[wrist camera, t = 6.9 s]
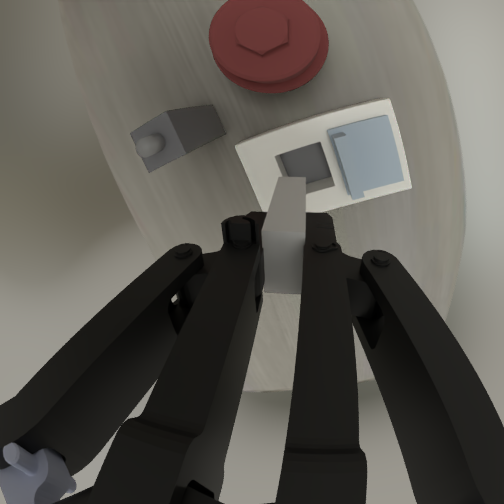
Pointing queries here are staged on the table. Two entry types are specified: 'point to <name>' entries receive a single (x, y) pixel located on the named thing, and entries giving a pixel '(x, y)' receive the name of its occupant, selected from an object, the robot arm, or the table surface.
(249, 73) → the mechanical component
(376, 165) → the panel
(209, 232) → the table surface
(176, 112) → the plug
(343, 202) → the socket
